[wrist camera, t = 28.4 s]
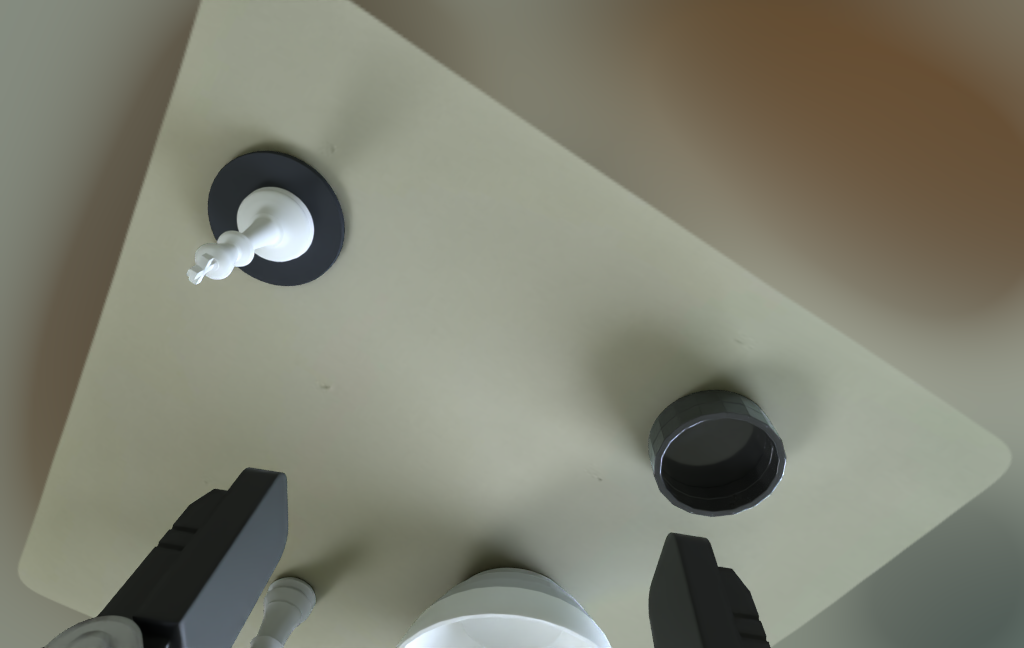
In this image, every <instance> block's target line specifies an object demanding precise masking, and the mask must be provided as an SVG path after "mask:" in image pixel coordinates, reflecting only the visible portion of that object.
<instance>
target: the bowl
mask: <svg viewBox="0 0 1024 648" xmlns="http://www.w3.org/2000/svg"><path fill="white" fill-rule="evenodd" d="M396 648H611V646H610V644H609V642H608V640H607V638H606V636H605V634H604V633H603V632H602V630H601V629H600V628H599V627H598V626H597V624H596V623H595V622H594V621H593V619H592V618H591V617H590V616H589V615H588V614H587V612H586V611H585V610H584V609H583V608H582V607H581V605H580V604H579V603H578V602H577V601H576V599H575V598H573V597H572V596H571V595H570V594H568V593H567V592H566V591H565V590H563V589H562V588H561V587H560V586H559V585H557V584H556V583H555V582H554V581H552V580H551V579H549V578H547V577H545V576H543V575H541V574H538V573H536V572H533V571H530V570H524V569H519V568H497V569H491V570H487V571H483V572H481V573H479V574H476V575H474V576H472V577H471V578H469V579H468V580H466V581H464V582H462V583H459V584H457V585H456V586H455V587H453V588H452V589H450V590H449V591H448V592H447V593H446V594H445V595H444V596H442V597H441V598H440V599H438V600H437V601H436V602H434V603H433V604H432V605H431V606H430V607H429V608H428V609H427V610H425V611H424V612H423V613H422V614H421V615H420V617H419V618H418V619H417V620H416V621H415V622H414V623H413V625H412V626H411V627H410V629H409V630H408V631H407V633H406V634H405V635H404V637H403V638H402V639H401V641H400V642H399V644H398V645H397V646H396Z"/></svg>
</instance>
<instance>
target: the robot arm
mask: <svg viewBox="0 0 1024 648" xmlns="http://www.w3.org/2000/svg"><path fill="white" fill-rule="evenodd" d="M287 535H288V499H287V477H286V475H285V473H281V472H275V471H269V470H262V469H256V468H250V467H249V468H246V469H245V470H243V472H242V473H241V474H240V475H239V477H238V478H237V479H236V480H235V482H234V483H233V484H232V486H231V487H230V488H229V490H228V491H226V490H219V489H213V490H212V491H210V492H209V493H207V494H206V495H204V496H202V497H201V498H199V499H198V500H196V501H195V502H193V503H192V504H190V505H189V506H188V507H187V509H186V510H185V511H184V512H183V514H182V515H181V516H180V517H179V518H178V520H177V521H176V522H175V523H174V524H173V527H172V529H171V530H170V529H169V530H168V532H167V533H166V534H165V535H164V537H163V538H162V539H161V540H160V541H159V544H158V546H157V547H154V549H153V550H152V551H151V552H150V554H149V555H148V556H147V557H146V558H145V560H144V561H143V562H142V563H141V564H140V566H139V567H138V568H137V569H136V570H135V572H134V573H133V574H132V575H131V577H130V578H129V579H128V580H127V581H126V583H125V584H124V585H123V586H122V587H121V589H120V590H119V591H118V592H117V594H116V595H115V596H114V597H113V598H112V600H111V601H110V602H109V603H108V604H107V606H106V607H105V608H104V609H103V611H102V612H101V613H100V614H99V615H98V616H97V617H95V618H92V619H88V620H85V621H83V622H80V623H78V624H76V625H74V626H72V627H70V628H68V629H67V630H65V631H64V632H62V633H61V634H59V635H58V636H57V637H55V638H54V639H53V640H52V641H51V642H50V643H49V644H48V645H46V647H43V648H231V647H232V645H233V643H234V642H235V640H236V638H237V636H238V634H239V633H240V631H241V629H242V627H243V625H244V624H245V622H246V620H247V618H248V616H249V615H250V613H251V611H252V609H253V607H254V606H255V604H256V602H257V600H258V598H259V596H260V595H261V593H262V591H263V589H264V587H265V586H266V584H267V582H268V580H269V578H270V577H271V575H272V573H273V571H274V569H275V568H276V566H277V564H278V562H279V560H280V558H281V556H282V553H283V551H284V548H285V544H286V540H287ZM649 619H650V624H651V630H652V636H653V642H654V648H770V645H769V642H767V641H766V634H765V631H764V628H763V626H762V623H761V621H759V615H758V612H757V609H756V607H755V604H754V601H753V599H752V596H751V593H750V591H749V590H748V589H747V587H746V586H745V585H744V583H743V582H742V581H741V580H740V578H739V577H738V576H737V575H736V573H735V572H734V571H733V569H730V568H723V567H718V566H717V562H716V559H715V556H714V553H713V550H712V547H711V544H710V542H709V540H708V539H707V538H703V537H696V536H690V535H684V534H677V533H669V534H668V536H667V538H666V540H665V543H664V546H663V549H662V552H661V555H660V558H659V561H658V565H657V568H656V571H655V574H654V577H653V580H652V583H651V586H650V592H649Z"/></svg>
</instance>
